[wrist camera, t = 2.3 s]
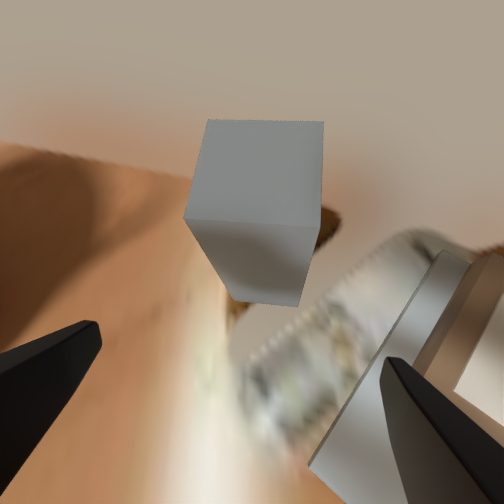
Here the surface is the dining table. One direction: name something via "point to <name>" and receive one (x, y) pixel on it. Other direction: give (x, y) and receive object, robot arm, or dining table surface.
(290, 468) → the dining table surface
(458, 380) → the plinth
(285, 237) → the post
